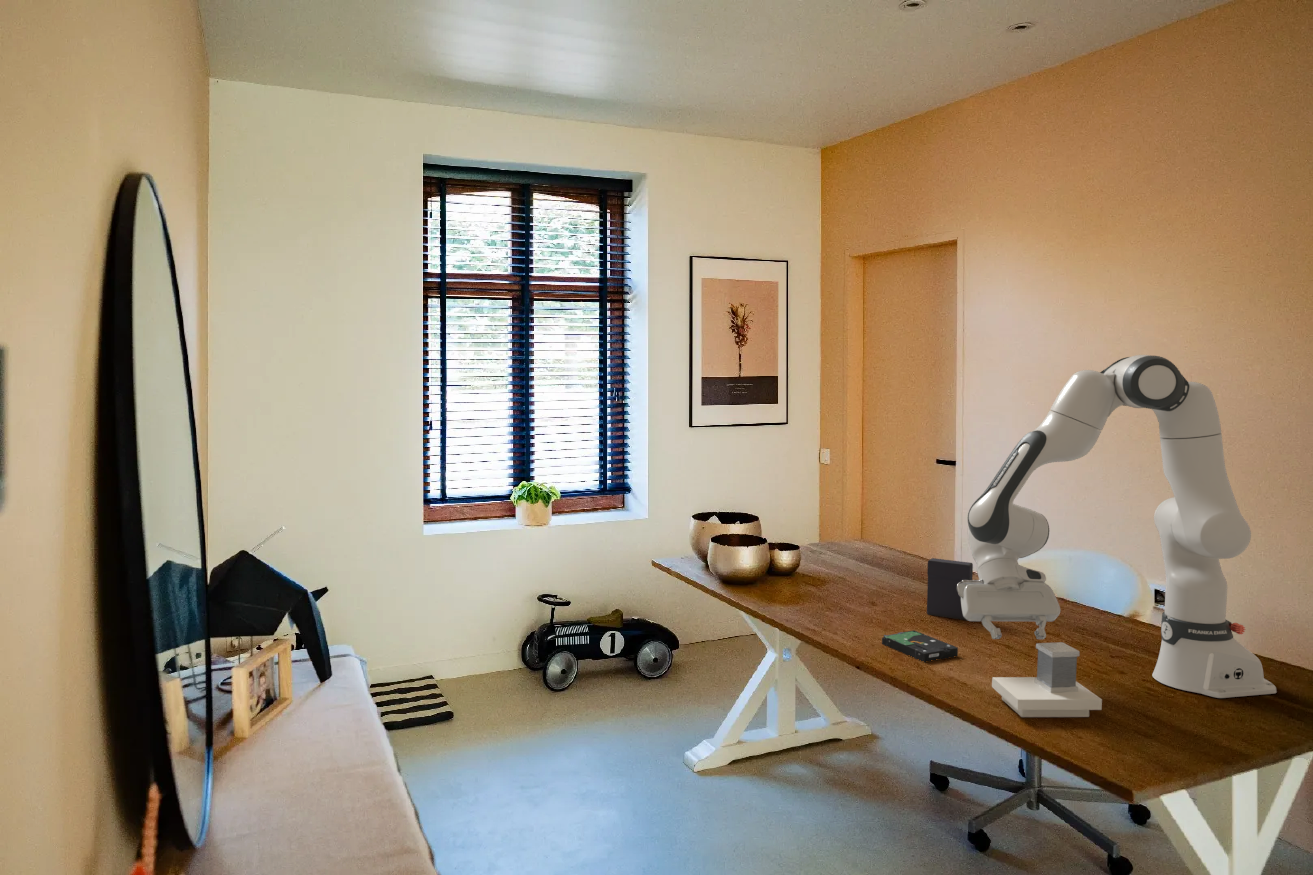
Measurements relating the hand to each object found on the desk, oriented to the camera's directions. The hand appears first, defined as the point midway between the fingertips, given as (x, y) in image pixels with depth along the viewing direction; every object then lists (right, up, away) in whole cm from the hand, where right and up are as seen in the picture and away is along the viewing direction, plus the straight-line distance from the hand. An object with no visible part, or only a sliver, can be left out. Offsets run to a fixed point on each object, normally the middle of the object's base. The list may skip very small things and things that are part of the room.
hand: (1019, 637), depth 183 cm
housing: (+2, -7, -11) cm, 14 cm away
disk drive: (-14, -9, +24) cm, 29 cm away
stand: (0, -11, -12) cm, 16 cm away
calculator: (+3, -6, +52) cm, 53 cm away
